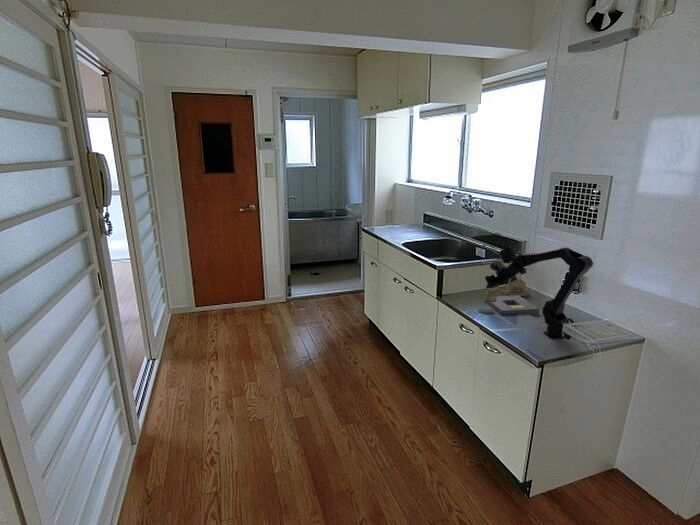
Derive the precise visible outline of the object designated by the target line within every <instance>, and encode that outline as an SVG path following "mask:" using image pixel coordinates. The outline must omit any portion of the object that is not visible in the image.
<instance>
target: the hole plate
mask: <svg viewBox="0 0 700 525" xmlns="http://www.w3.org/2000/svg"><path fill="white" fill-rule="evenodd" d="M484 302H486V303H487V304H488V305H489V306H491V308H493V309H494V310H496V312H498V313H499V314H500V315H513V314H514V315H519V314H529V315H530V314H533V315H540V314H539V313H540V308H539V307H538V306H536V305H535V304H533V303H532V302H530V301H528V300H527V299H525V297H521V296H519V295H517V296H508V295H499V296H498V295H497V298H496V302H488V301H486V296H484ZM509 304H510V305H509Z"/></svg>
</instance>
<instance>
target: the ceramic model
mask: <svg viewBox="0 0 700 525" xmlns="http://www.w3.org/2000/svg"><path fill="white" fill-rule="evenodd" d="M510 281H511V279H510ZM510 281H509V283H508V284H504V285H505V286H506V287H505V288H504V289H503V290H501V293H503V294H504V293H505V294H506V295H505V294H504V295H505V296H517V295H519V296H524V297H528V296H529V295H530V291H529V290H528V289H527V286H526V282H525V280H524V279H522V278H519V277H516V280H515V281H514V282H510Z"/></svg>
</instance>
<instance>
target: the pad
mask: <svg viewBox="0 0 700 525" xmlns="http://www.w3.org/2000/svg"><path fill="white" fill-rule="evenodd" d="M478 312H479V313H480V314H482V315H490V316H492V315H495V313H496V312H495V311H494V310H493V309H490V308H479V309H478Z"/></svg>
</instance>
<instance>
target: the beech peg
mask: <svg viewBox="0 0 700 525" xmlns="http://www.w3.org/2000/svg"><path fill="white" fill-rule="evenodd" d="M493 275H494V276H495V277H496V276H497V275H496V274H493ZM487 284H488V283H487ZM487 284H486V285H487ZM485 294H486V295H485V297H486V301H488V302H496V298H497V296H498V287H494V288H488V289H487V288H486V293H485ZM486 301H485V302H486Z"/></svg>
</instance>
